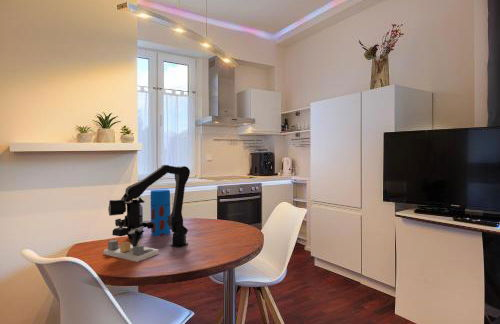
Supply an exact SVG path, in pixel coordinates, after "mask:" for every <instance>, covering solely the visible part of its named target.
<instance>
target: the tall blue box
mask: <svg viewBox="0 0 500 324" xmlns="http://www.w3.org/2000/svg"><path fill="white" fill-rule="evenodd" d="M168 215H171V191H170V189H153V190H150V222H152V223H153V228H150V232H151V236H153V237H162V236H168V235H170V234H171V229H170V228H169V227H168V223H166V222H167V220H168Z"/></svg>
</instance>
